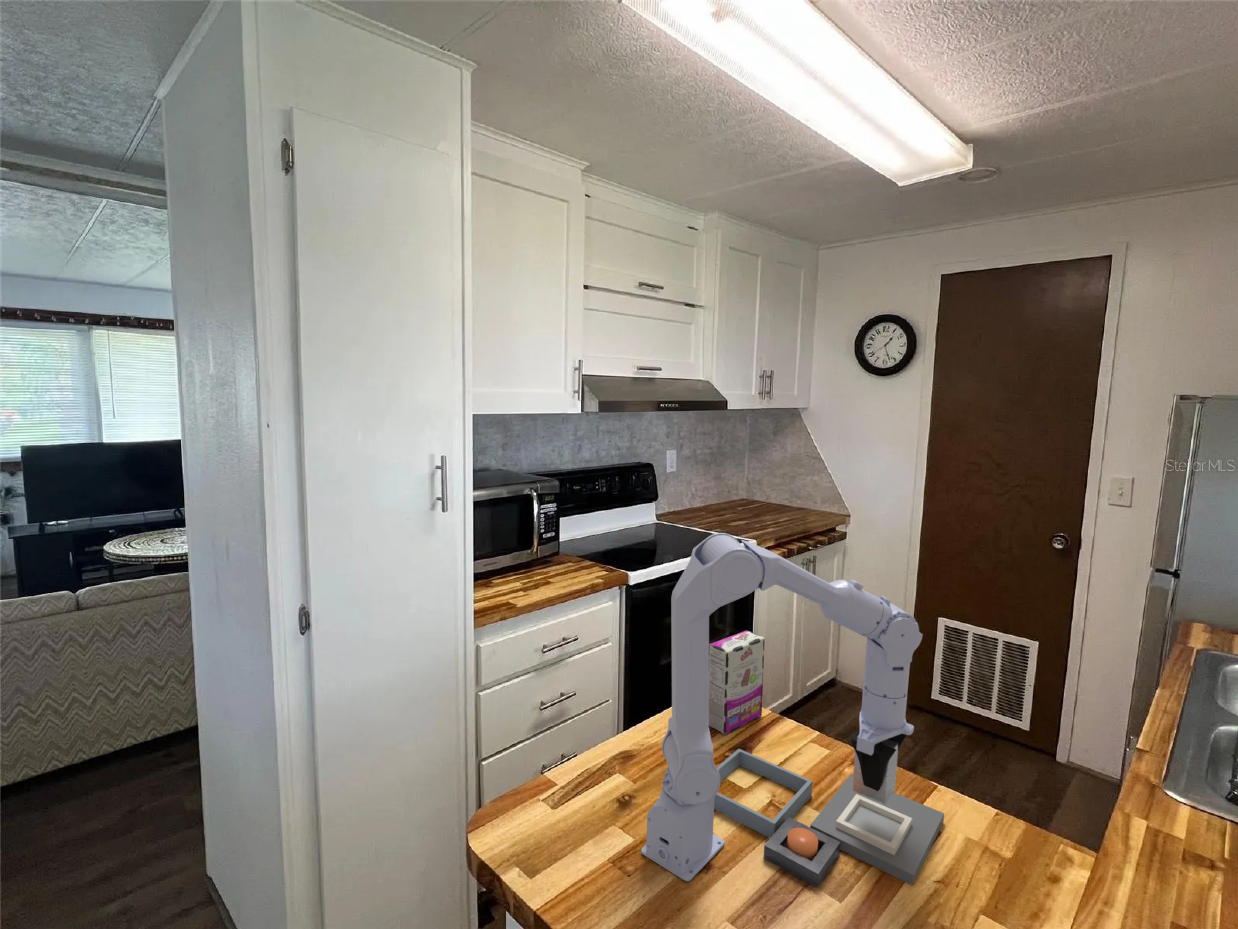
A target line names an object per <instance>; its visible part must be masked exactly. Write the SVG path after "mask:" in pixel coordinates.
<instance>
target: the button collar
mask: <svg viewBox="0 0 1238 929" xmlns="http://www.w3.org/2000/svg"><path fill="white" fill-rule="evenodd" d="M793 828H804V829H807V830H810V831H811V832H813V833H814V834H815V835H816V836H817V838H818V852H817V855H816V856H815V858H814V859H813V860H812V861H810V860H808V859H806V858H804V857H802V856H800V855H798V854H797V853H795V852H793V851H791V850H789V849H787V840H788V832H789V831H790V830H791V829H793ZM763 846H764V847H763V859H764V860H765V861H767V862H770V863H771V864H772V865H775V866H776V867H778V868H780V869H781V870H784V871H785V872H787V873H789V874H791V875H793V876H794V877H796V878H798V879H800V880H802V881H804V882H806V883H807V884H809V885H811V886H813V887H814V888H819V886H820V885H821V883H822V881H823V880H824V879H825V877H826V876H827V874H828V873H829V872H830V870H831V868H832V867H833V866H834V864H835V862H837V860H838V858H839V857H840V853H841V852H840V851H841V850H840V842H839V841H837V840H835V839H833V838H831V837H829V836H827V835H825V834H823V833H821V832H818V831H816V830H814V829H812V828H810V826H808V825H806V824H804V823H802V822H800V821H798V820H795V819H794V818H790V817H788V818H787V820H786V821H785V822H784V823H783V824H782V825H781V827H780V828H779V829H778V830H777V831H776V832H775V833H774V835H773V836H772V837H771V838H769V839H768V840H767V842H765V844H764V845H763Z"/></svg>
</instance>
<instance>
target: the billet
mask: <svg viewBox="0 0 1238 929" xmlns="http://www.w3.org/2000/svg"><path fill="white" fill-rule="evenodd" d="M882 742H884V745H886V746H888V747H891V748H894V749H896V751H895V753H894V754H893V755H892V757H891V758H890V760H889V762H888V765H887V767H886V771H885V775H884V779H883V783H882V785H881V788H880V789H879V791H876V790H874V789H871V788H869V787H867V786H864V783H863V779H862V774H861V768H860V763H859V759H858V756H857V754H856V752H855V751H854V766H853V776H854V779H853V791H855V792H857V793H860V794H862V795H865V796H867V797H869V798H872V799H874V800H877V801H879V802H882V803H884V804H886V802H887V801H888V799H889V798H890V796H891V795H892V793H893V792H894V791H895V790H896V788H897V787H896V786H897V770H898V767H897V766H898V755H899V752H898V743H897V742H894V741H891V740H888V739H886V740H884V741H882ZM894 793H895V792H894Z"/></svg>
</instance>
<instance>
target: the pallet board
mask: <svg viewBox="0 0 1238 929" xmlns="http://www.w3.org/2000/svg"><path fill="white" fill-rule="evenodd" d="M853 779H854V774H853V775H852V774H850V775H849V776H848V777H847V778H846V780H845V781H844V782H843V784H842V785H841V786H840V787H839V789H837V791H836V792H835V794H834V795H833V796H832V797H831V798H830V800H829V801H828V802H827V803H826V805H825V806H824V807H823V808H822V810H821V811H820V812H819V814H818V815H817V816H816V817H815V819H814V820H813V821H812V822H811V823H810V825H809V827H810V828H812V829H814V830H816V831H818V832H821V833H823V834H825V835H827V836H829V837H831V838H833V839H835V840H837V841H839V842H840V851H843V852H844V853H846V854H848V855H851V856H852V857H854V858H856V859H859V860H860V861H862V862H865V863H866V864H868V865H870V866H873V867H875V868H877V869H878V870H881V871H882V872H885V873H886V874H888V875H891V876H892V877H895V878H897V879H898V880H900V881H902V882H905V883H907V884H909V885H911V886H913V885H914V884H915V882H916V880H917V877H918V875H919V873H920V871H921V869H922V867H923V865H924V862H925V861H926V859H927V857H928V855H929V853H930V851H931V848H932V846H933V845H934V843H935V841H936V839H937V836H938V834H939V832H940V830H941V829H942V827H943V824H944V820H945V813H944V812H942V811H940V810H937V809H935V808H933V807H930V806H927V805H925V804H922V803H920V802H918V801H916V800H913V799H910V798H908V797H906V796H904V795H901V794H898V793H897V792H893V793H892V795H891V796H890V798H889V799H888V801H887V802H886V804H884V803H882V802H879V801H877V800H874V799H872V798H869V797H867V796H865V795H862V794H860V793H857V792H855V791H853Z"/></svg>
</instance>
